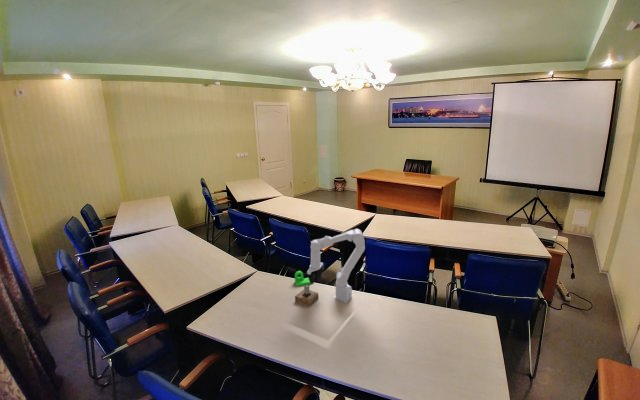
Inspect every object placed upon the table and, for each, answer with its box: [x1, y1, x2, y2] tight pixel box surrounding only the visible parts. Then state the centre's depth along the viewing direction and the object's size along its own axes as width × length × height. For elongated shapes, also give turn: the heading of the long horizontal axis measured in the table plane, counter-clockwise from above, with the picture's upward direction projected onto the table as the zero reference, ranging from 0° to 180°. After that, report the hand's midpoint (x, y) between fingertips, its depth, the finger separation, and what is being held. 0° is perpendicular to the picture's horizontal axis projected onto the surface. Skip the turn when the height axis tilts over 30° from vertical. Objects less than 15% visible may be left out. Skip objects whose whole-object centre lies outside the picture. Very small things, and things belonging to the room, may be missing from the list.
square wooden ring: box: [294, 289, 319, 307], centre depth 171 cm, size 10×10×4 cm
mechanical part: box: [294, 270, 312, 287], centre depth 191 cm, size 12×6×8 cm, turn 106°
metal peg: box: [303, 284, 310, 297], centre depth 170 cm, size 3×3×9 cm
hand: (315, 280), depth 173 cm, fingers open, 7 cm apart
